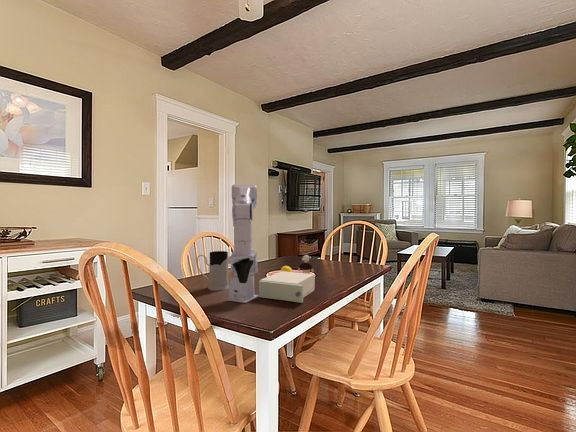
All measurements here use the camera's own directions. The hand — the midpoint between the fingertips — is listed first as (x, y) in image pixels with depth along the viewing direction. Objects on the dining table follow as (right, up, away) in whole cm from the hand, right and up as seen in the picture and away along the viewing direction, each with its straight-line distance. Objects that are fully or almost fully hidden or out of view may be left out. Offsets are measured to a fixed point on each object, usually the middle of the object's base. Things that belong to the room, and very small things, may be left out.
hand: (243, 282), depth 103 cm
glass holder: (-17, -9, +32) cm, 37 cm away
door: (+12, -9, +12) cm, 19 cm away
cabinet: (+15, -9, +22) cm, 28 cm away
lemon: (+14, -8, +52) cm, 55 cm away
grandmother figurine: (+22, -9, +38) cm, 45 cm away
